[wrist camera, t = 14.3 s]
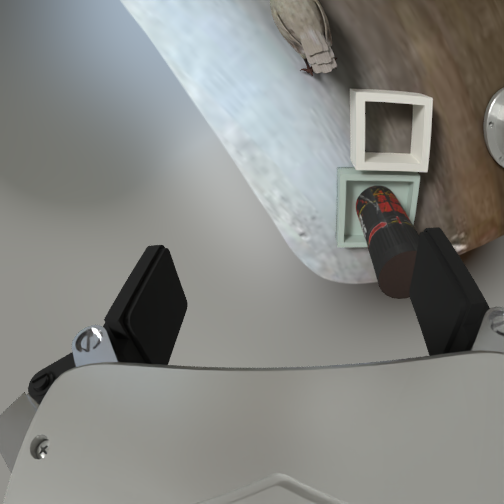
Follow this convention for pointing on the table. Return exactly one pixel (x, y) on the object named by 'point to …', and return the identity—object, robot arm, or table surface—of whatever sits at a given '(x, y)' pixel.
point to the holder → (419, 132)
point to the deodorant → (388, 239)
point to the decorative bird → (306, 32)
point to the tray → (355, 184)
